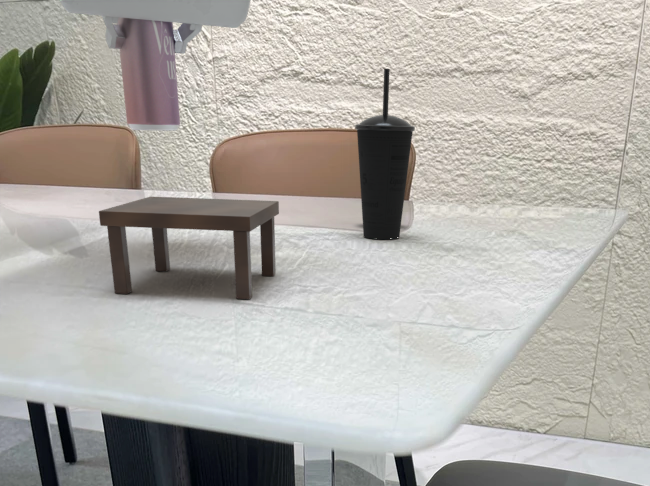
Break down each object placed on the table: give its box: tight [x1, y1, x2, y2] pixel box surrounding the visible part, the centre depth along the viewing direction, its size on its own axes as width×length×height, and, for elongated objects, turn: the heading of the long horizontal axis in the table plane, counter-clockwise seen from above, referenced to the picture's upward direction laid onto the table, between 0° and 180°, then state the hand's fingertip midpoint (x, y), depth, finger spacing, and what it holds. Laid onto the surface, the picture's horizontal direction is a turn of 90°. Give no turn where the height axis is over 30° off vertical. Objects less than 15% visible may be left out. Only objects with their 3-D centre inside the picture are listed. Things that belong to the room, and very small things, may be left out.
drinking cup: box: [354, 68, 416, 240], centre depth 99 cm, size 8×8×20 cm
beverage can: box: [116, 17, 181, 132], centre depth 86 cm, size 6×6×15 cm
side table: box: [98, 196, 280, 300], centre depth 72 cm, size 13×13×7 cm
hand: (145, 46), depth 86 cm, fingers closed on beverage can, 6 cm apart
